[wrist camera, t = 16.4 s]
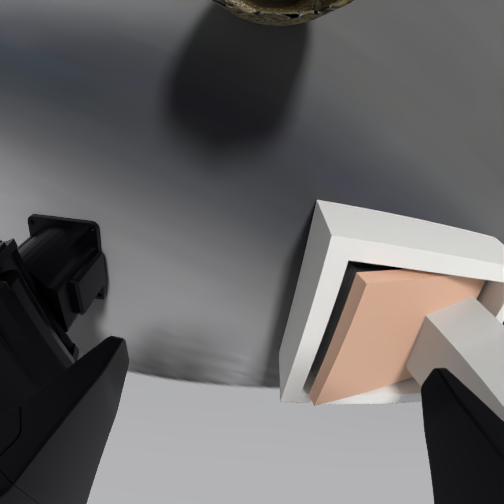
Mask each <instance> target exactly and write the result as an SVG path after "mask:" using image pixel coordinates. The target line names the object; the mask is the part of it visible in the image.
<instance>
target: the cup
mask: <svg viewBox="0 0 504 504" xmlns="http://www.w3.org/2000/svg"><path fill="white" fill-rule="evenodd" d="M213 1H214V2H215V3H217V4H218V5H219V6H221V7H222V8H224V9H225V10H227V11H228V12H230V13H232V14H233V15H235V16H237V17H239V18H242V19H245V20H247V21H250V22H254V23H257V24H262V25H270V26H288V25H295V24H300V23H305V22H308V21H311V20H314V19H316V18H318V17H321V16H323V15H325V14H327V13H329V12H331V11H333V10H335V9H337V8H340V7H343V6H345V5H347V4H349V3H351V2H352V1H354V0H277V1H274V0H213Z"/></svg>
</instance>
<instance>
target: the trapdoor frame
mask: <svg viewBox="0 0 504 504" xmlns="http://www.w3.org/2000/svg"><path fill="white" fill-rule="evenodd" d="M349 260H350V261H357V262H364V263H371V264H378V265H386V266H393V267H400V268H407V269H414V270H421V271H428V272H435V273H442V274H449V275H456V276H463V277H470V278H477V279H484V280H486V281H485V283H484V285H483V287H482V289H481V291H480V293H479V295H478V297H477V300H478V301H479V302H480V303H481V304H482V305H483V306H484V307H485V308H486V309H487V310H488V311H489V312H490V313H491V314H492V315H493V316H494V317H495V318H496V319H497V320H498V321H499V322H500V323H501V324H502V323H503V321H504V245H503V244H502V243H501V242H500V241H499V240H497V239H496V238H495V237H492V236H488V235H484V234H480V233H476V232H472V231H468V230H464V229H460V228H456V227H451V226H447V225H443V224H438V223H434V222H429V221H425V220H420V219H416V218H411V217H406V216H401V215H397V214H392V213H387V212H382V211H377V210H371V209H366V208H361V207H355V206H350V205H344V204H339V203H333V202H327V201H321V200H317V201H316V205H315V210H314V214H313V219H312V223H311V228H310V232H309V236H308V241H307V245H306V249H305V253H304V258H303V262H302V266H301V270H300V274H299V278H298V282H297V286H296V290H295V294H294V298H293V302H292V306H291V310H290V313H289V317H288V321H287V325H286V329H285V332H284V336H283V340H282V343H281V347H280V351H279V374H280V401H281V402H296V403H313V402H312V400H311V398H310V396H309V393H310V390H311V388H312V386H313V384H314V381H315V379H316V377H315V376H314V374H313V372H312V370H311V366H312V363H313V361H314V358H315V356H316V353H317V351H318V348H319V345H320V343H321V340H322V337H323V334H324V332H325V329H326V326H327V323H328V321H329V318H330V315H331V312H332V309H333V306H334V304H335V301H336V298H337V295H338V292H339V289H340V286H341V283H342V280H343V276H344V273H345V270H346V267H347V264H348V261H349ZM420 401H422V399H421V387H420V385H419V384H418V383H417V381H416V380H415V379H414V377H412V378H409V379H406V380H403V381H400V382H397V383H394V384H391V385H388V386H385V387H382V388H378V389H375V390H372V391H368V392H365V393H362V394H358V395H354V396H351V397H347V398H343V399H339V400H335V401H331V402H327V403H323V404H384V403H406V402H420Z"/></svg>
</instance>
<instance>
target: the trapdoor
mask: <svg viewBox="0 0 504 504" xmlns="http://www.w3.org/2000/svg"><path fill="white" fill-rule="evenodd" d="M485 281H486V280H484V279H477V278H470V277H463V276H456V275H449V274H442V273H435V272H428V271H421V270H414V269H399V270H391V269H390V268H389V267H388V266H386V265H378V264H371V263H364V262H357V261H350V260H349V261H348V264H347V267H346V270H345V273H344V276H343V280H342V283H341V286H340V289H339V292H338V295H337V298H336V301H335V304H334V306H333V309H332V312H331V315H330V318H329V321H328V323H327V326H326V329H325V332H324V334H323V337H322V340H321V343H320V345H319V348H318V351H317V353H316V356H315V358H314V361H313V363H312V366H311V370H312V372H313V374H314V376H315V377H316V379H315V381H314V384H313V386H312V388H311V390H310V393H309V396H310V398H311V400H312V402H313V404H314V405H319V404H323V403H327V402H331V401H335V400H339V399H343V398H347V397H351V396H354V395H358V394H362V393H365V392H368V391H372V390H375V389H378V388H382V387H385V386H388V385H391V384H394V383H397V382H400V381H403V380H406V379H409V378H412V377H413V376H412V374H411V373H410V372H409V370H408V369H407V368H406V366H405V365H406V362H407V360H408V358H409V355H410V353H411V351H412V348H413V346H414V344H415V341H416V339H417V336H418V334H419V331H420V329H421V326H422V323H423V321H424V318H425V315H428V314H430V313H433V312H435V311H438V310H440V309H442V308H445V307H447V306H450V305H452V304H454V303H457V302H459V301H461V300H464V299H466V298H468V297H470V296H473V297H474V298H475V299H477V297H478V295H479V293H480V291H481V289H482V287H483V285H484V283H485Z"/></svg>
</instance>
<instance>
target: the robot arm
mask: <svg viewBox="0 0 504 504" xmlns="http://www.w3.org/2000/svg"><path fill="white" fill-rule="evenodd" d="M33 220H34V221H33ZM34 222H35V223H34ZM28 225H29V231H30V237H29V238H28V239H27V240H26V241H24V242H23V243H22V244H21V245H20V246H19V247H18V246H17V244H16V242H15V240H14V239H11V240H9V241H6V242H5V241H4V242H2V241H1V240H0V504H86V503H87V500H88V497H89V494H90V490H91V487H92V484H93V481H94V478H95V475H96V471H97V468H98V465H99V462H100V459H101V456H102V453H103V450H104V447H105V445H106V442H107V439H108V436H109V433H110V430H111V427H112V425H113V422H114V419H115V416H116V413H117V410H118V406H119V402H120V397H121V393H122V388H123V385H124V381H125V377H126V373H127V369H128V365H129V357H128V352H127V346H126V341H125V339H123V338H120V337H115V336H110V337H108V338H107V339H105V340H104V341H103V342H101V343H100V344H99V345H97V346H96V347H95V348H93V349H92V350H91V351H89V352H88V353H87V354H85V355H84V356H83V357H81V358H80V359H79V360H77V359H78V354H79V349H78V348H77V346H76V345H75V344H74V343H72V341H71V340H70V338H69V337H68V335H67V334H66V332H67V331H68V330H69V328H70V327H71V325H72V323H73V322H74V320H75V319H76V317H77V316H78V314H80V315H83V314H84V313H85V312H86V311H87V309H88V308H89V306H90V305H91V303H92V302H93V300H94V299H95V298H96V299H104V297H105V295H106V286H105V283H106V274H105V265H104V257H103V253H102V251H101V245H100V234H99V226H98V224H97V223H96V222H94V221H88V220H80V219H72V218H63V217H55V216H47V215H38V214H32V215H31V216H30V217H29V218H28ZM90 227H92V228H93V230H94V231H92V230H91V229H90ZM17 247H18V248H17ZM99 292H100V293H101V294H100V293H99ZM421 399H422V408H423V419H424V431H425V438H426V444H427V450H428V456H429V463H430V470H431V478H432V486H433V495H434V504H504V421H503V420H502V419H501V418H499V417H498V416H497V415H496V414H495V413H494V412H493V411H492V410H491V409H490V408H489V407H488V406H487V405H486V404H485V403H484V402H483V401H482V400H480V399H479V398H478V397H477V396H476V395H475V394H474V393H473V392H472V391H471V390H470V389H469V388H468V387H466V386H465V385H464V384H463V383H462V382H461V381H460V380H459V379H458V378H457V377H456V376H454V375H453V374H452V373H451V372H450V371H449V370H448V369H447V368H444V367H441V368H434V369H433V370H432V371H431V372H430V374H429V375H428V377H427V378H426V380H425V381H424V382H423V384H422V386H421Z"/></svg>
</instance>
